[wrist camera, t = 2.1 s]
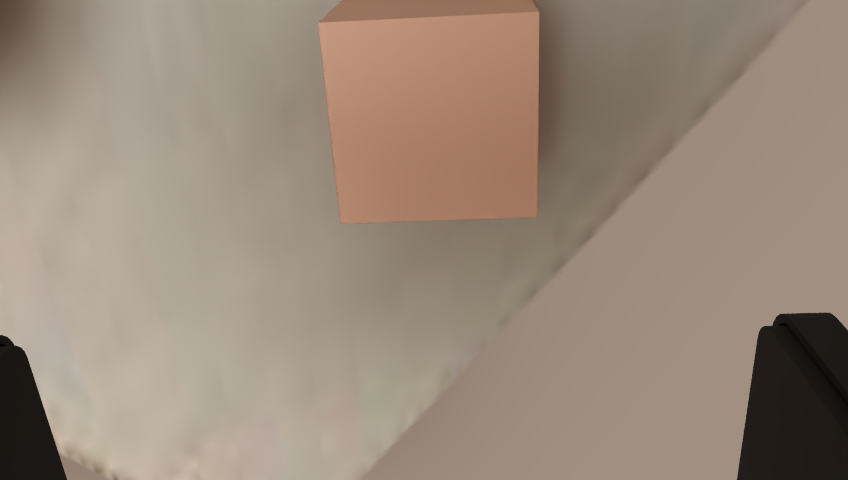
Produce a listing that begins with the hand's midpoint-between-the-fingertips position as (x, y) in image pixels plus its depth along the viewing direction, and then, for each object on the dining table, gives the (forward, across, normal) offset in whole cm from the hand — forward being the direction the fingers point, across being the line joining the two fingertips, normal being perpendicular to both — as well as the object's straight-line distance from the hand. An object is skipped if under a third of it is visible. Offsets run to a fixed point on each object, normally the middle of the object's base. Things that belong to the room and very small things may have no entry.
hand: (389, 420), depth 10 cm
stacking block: (+18, 0, 0) cm, 18 cm away
